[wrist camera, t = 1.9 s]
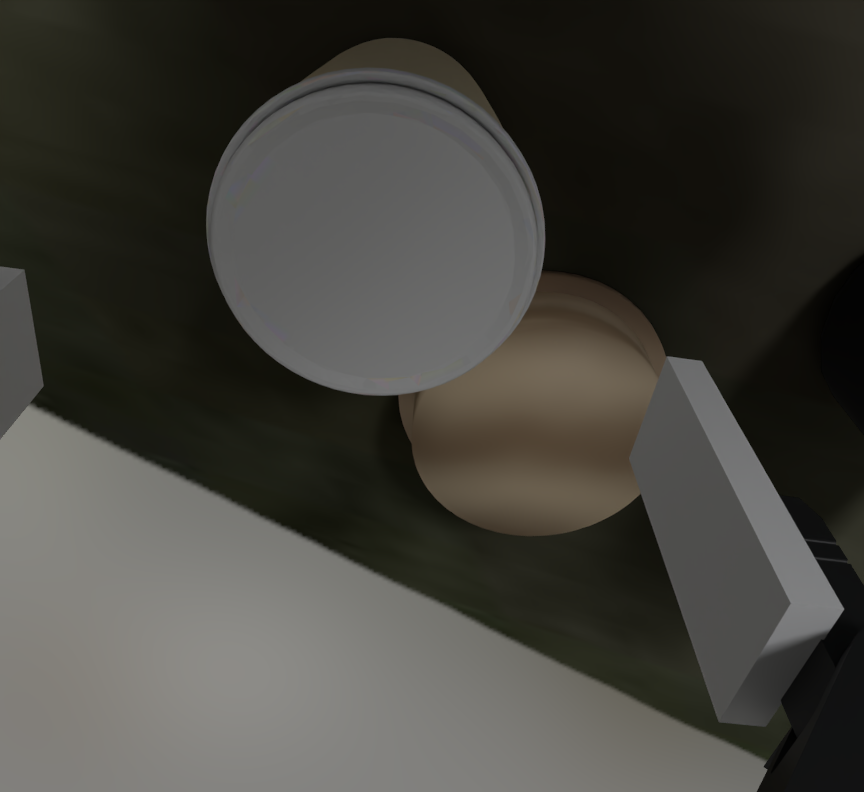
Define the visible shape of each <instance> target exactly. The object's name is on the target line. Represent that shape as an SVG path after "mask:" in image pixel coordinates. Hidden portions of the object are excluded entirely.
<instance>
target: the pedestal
mask: <svg viewBox="0 0 864 792" xmlns="http://www.w3.org/2000/svg"><path fill="white" fill-rule="evenodd" d="M665 360H666V355H665V352H664V349H663V347H662V344H661V342H660V340H659V338H658V336H657V334H656V332H655V330H654V328H653V327H652V325H651V323H650V322H649V321H648V319H647V318H646V317H645V315H644V314H643V313H642V311H641V310H640V309H639V308H637V307H636V306H635V305H634V304H633V303H632V302H631V301H630V300H629V299H628V298H626V297H625V296H623V295H622V294H620V293H619V292H618V291H616V290H615V289H613V288H611V287H609V286H607V285H605V284H603V283H601V282H599V281H596V280H593V279H590V278H587V277H584V276H581V275H576V274H571V273H566V272H558V271H546V270H542V271H541V276H540V279H539V282H538V285H537V289H536V292H535V294H534V297H533V299H532V301H531V303H530V305H529V308H528V309H527V311H526V313H525V314H524V316H523V318H522V320H521V321H520V323H519V324H518V325H517V327H516V328H515V329H514V331H513V332H512V333H511V335H510V336H509V337H508V338H507V339H506V340H505V341H504V342H503V343H502V344H501V346H500V347H498V348H497V349H496V350H495V351H494V352H493V353H492V354H491V355H489V356H488V357H487V358H486V359H485V360H483V361H482V362H481V363H480V364H478V365H477V366H476V367H474V368H473V369H472V370H470V371H468V372H467V373H465V374H463V375H461V376H459V377H458V378H456V379H454V380H451V381H449V382H447V383H445V384H442V385H439V386H436V387H433V388H430V389H427V390H423V391H419V392H415V393H408V394H401V395H399V396H398V398H399V409H400V415H401V419H402V423H403V426H404V429H405V431H406V433H407V436H408V438H409V440H410V441H411V443H412V453H413V457H414V461H415V465H416V468H417V470H418V472H419V475H420V477H421V479H422V481H423V482H424V484H425V485H426V487H427V489H428V490H429V491H430V492H431V494H432V495H433V496H434V497H435V498H436V499H437V500H438V501H439V502H440V503H441V504H442V505H443V506H444V507H445V508H446V509H448V510H449V511H451V512H452V513H454V514H455V515H457V516H458V517H460V518H462V519H464V520H465V521H467V522H469V523H471V524H474V525H476V526H479V527H481V528H484V529H487V530H491V531H495V532H498V533H504V534H510V535H519V536H546V535H555V534H561V533H566V532H571V531H575V530H578V529H581V528H584V527H588V526H590V525H593V524H595V523H597V522H600V521H602V520H604V519H606V518H608V517H610V516H611V515H613V514H615V513H617V512H618V511H620V510H621V509H623V508H624V507H625V506H627V505H628V504H630V503H631V502H632V501H633V500H634V499H635V498H636V497H638V496H639V495H640V494H641V492H640V490H639V487H638V484H637V481H636V478H635V475H634V472H633V469H632V466H631V463H630V460H629V457H630V454H631V451H632V449H633V446H634V443H635V441H636V438H637V435H638V433H639V430H640V427H641V424H642V422H643V419H644V416H645V414H646V411H647V408H648V406H649V403H650V400H651V398H652V395H653V392H654V390H655V387H656V384H657V381H658V379H659V376H660V373H661V371H662V368H663V365H664V363H665Z"/></svg>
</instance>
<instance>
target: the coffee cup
mask: <svg viewBox="0 0 864 792" xmlns="http://www.w3.org/2000/svg"><path fill="white" fill-rule="evenodd" d="M206 231H207V244H208V250H209V255H210V260H211V264H212V267H213V271H214V274H215V277H216V280H217V282H218V284H219V287H220V289H221V291H222V294H223V296H224V297H225V300H226V302H227V303H228V305H229V307H230V309H231V310H232V312H233V314H234V315H235V317H236V318H237V320H238V321H239V323H240V324H241V326H242V327H243V329H244V330H245V331H246V332H247V333H248V335H249V336H250V337H251V338H252V339H253V340H254V341H255V342H256V343H257V344H258V345H259V346H260V347H261V348H262V349H263V350H264V351H265V352H266V353H267V354H268V355H270V356H271V357H272V358H273V359H275V360H276V361H277V362H279V363H280V364H282V365H283V366H285V367H286V368H288V369H289V370H291V371H293V372H294V373H296V374H298V375H300V376H302V377H304V378H306V379H308V380H310V381H313V382H315V383H317V384H320V385H323V386H326V387H329V388H332V389H335V390H340V391H344V392H349V393H355V394H362V395H378V396H385V395H401V394H408V393H415V392H419V391H423V390H427V389H430V388H433V387H436V386H439V385H442V384H445V383H447V382H449V381H451V380H454V379H456V378H458V377H459V376H461V375H463V374H465V373H467V372H468V371H470V370H472V369H473V368H474V367H476V366H477V365H478V364H480V363H481V362H482V361H483V360H485V359H486V358H487V357H488V356H489V355H491V354H492V353H493V352H494V351H495V350H496V349H497V348H498V347H500V346H501V344H502V343H503V342H504V341H505V340H506V339H507V338H508V337H509V336H510V335H511V333H512V332H513V331H514V329H515V328H516V327H517V325H518V324H519V323H520V321H521V320H522V318H523V316H524V314H525V313H526V311H527V309H528V308H529V305H530V303H531V301H532V299H533V297H534V294H535V292H536V289H537V285H538V282H539V279H540V276H541V271H542V266H543V260H544V250H545V221H544V214H543V208H542V202H541V199H540V195H539V191H538V188H537V185H536V182H535V180H534V177H533V175H532V172H531V170H530V168H529V166H528V164H527V162H526V160H525V159H524V157H523V155H522V153H521V151H520V150H519V149H518V147H517V146H516V144H515V143H514V141H513V140H512V139H511V137H510V136H509V134H508V133H507V132H506V131H505V130H504V129H503V127H502V125H501V123H500V121H499V120H498V118H497V116H496V114H495V112H494V111H493V109H492V107H491V106H490V104H489V102H488V101H487V99H486V97H485V95H484V94H483V92H482V90H481V89H480V87H479V86H478V85H477V83H476V82H475V80H474V79H473V78H472V76H471V75H470V74H469V73H468V72H467V71H466V70H465V69H464V68H463V67H462V66H461V65H460V64H459V63H458V62H457V61H456V60H454V59H453V58H452V57H451V56H449V55H448V54H446V53H445V52H443V51H441V50H439V49H437V48H435V47H433V46H431V45H428V44H426V43H422V42H419V41H415V40H410V39H403V38H382V39H376V40H372V41H368V42H364V43H362V44H359V45H357V46H354V47H352V48H350V49H348V50H346V51H344V52H342V53H340V54H339V55H337V56H336V57H334V58H333V59H332V60H330V61H329V62H327V63H326V64H324V65H323V66H322V67H320V68H319V69H317V70H316V71H315V72H313V73H312V74H310V75H309V76H307V77H306V78H305V79H303V80H302V81H301V82H299V83H297V84H295V85H293V86H291V87H289V88H287V89H286V90H284V91H282V92H281V93H279V94H277V95H276V96H274V97H273V98H271V99H270V100H269V101H267V102H266V103H265V104H264V105H262V106H261V107H260V108H258V109H257V110H256V111H255V112H254V113H253V114H252V115H251V116H250V117H249V118H248V119H247V120H246V121H245V122H244V123H243V125H242V126H241V127H240V129H239V130H238V131H237V132H236V134H235V135H234V136H233V138H232V139H231V141H230V143H229V144H228V146H227V148H226V149H225V151H224V153H223V155H222V157H221V160H220V162H219V164H218V166H217V169H216V171H215V174H214V178H213V181H212V185H211V188H210V193H209V198H208V204H207V217H206Z"/></svg>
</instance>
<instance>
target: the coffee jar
mask: <svg viewBox="0 0 864 792" xmlns="http://www.w3.org/2000/svg"><path fill="white" fill-rule="evenodd" d="M821 369H822V374H823V376H824V378H825V380H826V382H827V384H828V386H829V388H830V390H831V392H832V394H833V396H834V398H835V399H836V400H837V402H838V403H839V404H840V405H841V407H842V408H843V409H844V410H845V412H846V413H847V414H848V415H849V417H850V418H851V419H852V421H853V422H854V423H855V424H856V426H857V427H858V428H859V429H860V431H861V432H862V433H863V435H864V262H863V263H861V264H860V265H859V266H858V267H857V268H856V269H855V270H854V271H853V273H852V274H851V275H850V277H849V278H848V280H847V281H846V282H845V284H844V285H843V286H842V288H841V289H840V291H839V292H838V293H837V295H836V296H835V298H834V300H833V303H832V306H831V308H830V311H829V314H828V317H827V320H826V323H825V326H824V328H823V331H822V334H821Z"/></svg>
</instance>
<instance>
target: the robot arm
mask: <svg viewBox="0 0 864 792" xmlns="http://www.w3.org/2000/svg"><path fill="white" fill-rule="evenodd" d="M43 386H44V385H43V379H42V373H41V367H40V361H39V355H38V349H37V343H36V337H35V331H34V325H33V319H32V313H31V307H30V301H29V295H28V289H27V283H26V277H25V271H24V270H22V269H15V268H7V267H0V439H1V438H2V436H3V435H4V434H5V432H7V430H8V429H9V428H10V427H11V425H12V424H13V423H14V422H15V421H16V419H17V418H18V417H19V416H20V414H21V413H22V412H23V411H24V410H25V408H26V407H27V406H28V405H29V403H30V402H31V401H32V400H33V399H34V397H35V396H36V395H37V394H38V392H39V391H40V390H41V389H42V388H43ZM629 460H630V463H631V466H632V469H633V472H634V475H635V478H636V481H637V484H638V487H639V490H640V492H641V495H642V498H643V501H644V504H645V507H646V510H647V513H648V516H649V519H650V522H651V525H652V528H653V531H654V534H655V536H656V539H657V542H658V545H659V548H660V551H661V554H662V557H663V560H664V563H665V566H666V569H667V572H668V575H669V577H670V580H671V583H672V586H673V589H674V592H675V595H676V598H677V601H678V604H679V607H680V610H681V613H682V616H683V618H684V621H685V624H686V627H687V630H688V633H689V636H690V639H691V642H692V645H693V648H694V651H695V654H696V657H697V659H698V662H699V665H700V668H701V671H702V674H703V677H704V680H705V683H706V686H707V689H708V692H709V695H710V698H711V701H712V703H713V706H714V709H715V712H716V715H717V718H718V721H719V722H723V723H733V724H743V725H754V726H764V727H766V726H767V724H768V723H769V721H770V720H771V718H772V717H773V715H774V714H775V712H776V711H777V709H778V708H779V706H780V705H781V703H782V705H783V707H784V710H785V712H786V714H787V717H788V719H789V721H790V724H791V726H792V727H791V728H790V730H789V731H788V733H787V734H786V735H785V737H784V738H783V740H782V741H781V743H780V744H779V745H778V747H777V748H776V750H775V751H774V753H773V754H772V755H771V757H770V758H769V760H768V761H767V763H766V764H765V765H764V767H765V768H766V769H768V770H767V772H766V774H765V777H764V778H763V781H762V783H761V785H760V786H759V789H758V791H757V792H864V585H863V584H862V582H861V580H860V579H859V577H858V576H857V574H856V572H855V571H854V569H853V568H852V566H851V564H847V560H848V559H847V558H846V556H845V555H844V553H843V551H842V550H841V548H840V547H839V546H837V545H836V540H835V539H834V537H833V535H832V534H831V532H830V531H829V529H828V527H827V526H826V524H825V522H824V521H823V519H822V518H821V517H820V516H819V515H817V514H816V513H815V512H814V511H813V510H812V509H811V508H810V507H809V506H808V505H806V504H805V503H804V502H803V501H802V500H801V499H800V498H797V497H788V496H780V495H778V493H777V491H776V489H775V488H774V486H773V484H772V482H771V481H770V479H769V477H768V475H767V474H766V472H765V470H764V468H763V467H762V465H761V463H760V461H759V460H758V458H757V456H756V454H755V453H754V451H753V449H752V447H751V446H750V444H749V442H748V440H747V439H746V437H745V435H744V434H743V432H742V430H741V428H740V427H739V425H738V423H737V421H736V420H735V418H734V416H733V414H732V413H731V411H730V409H729V407H728V406H727V404H726V402H725V400H724V399H723V397H722V395H721V393H720V392H719V390H718V388H717V386H716V385H715V383H714V381H713V379H712V378H711V376H710V374H709V372H708V371H707V369H706V367H705V365H704V364H703V362H702V361H698V360H691V359H683V358H676V357H668V356H667V357H666V360H665V363H664V365H663V368H662V371H661V373H660V376H659V379H658V381H657V384H656V387H655V390H654V392H653V395H652V398H651V400H650V403H649V406H648V408H647V411H646V414H645V416H644V419H643V422H642V424H641V427H640V430H639V433H638V435H637V438H636V441H635V443H634V446H633V449H632V451H631V454H630V457H629Z"/></svg>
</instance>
